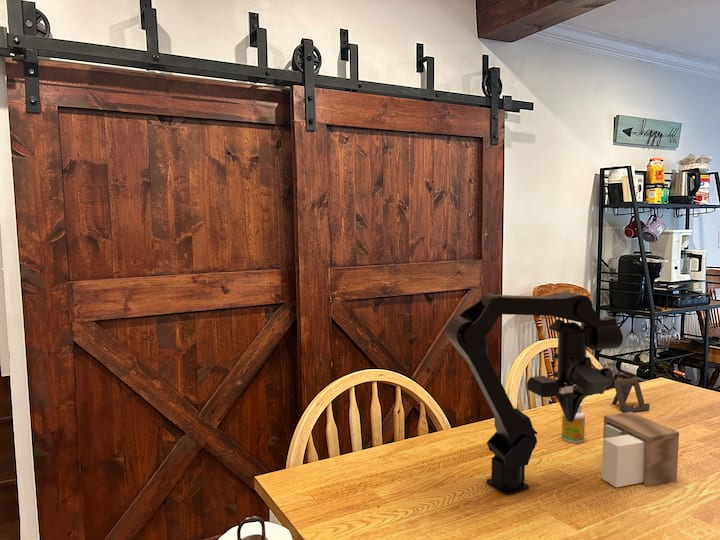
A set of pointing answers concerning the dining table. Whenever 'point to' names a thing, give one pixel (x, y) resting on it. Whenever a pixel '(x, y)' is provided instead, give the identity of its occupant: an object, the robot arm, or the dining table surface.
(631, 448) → the white plug
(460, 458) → the dining table surface
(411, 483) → the dining table surface
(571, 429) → the supplement bottle
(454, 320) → the robot arm
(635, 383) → the portable electronic device stand
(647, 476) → the walnut housing
